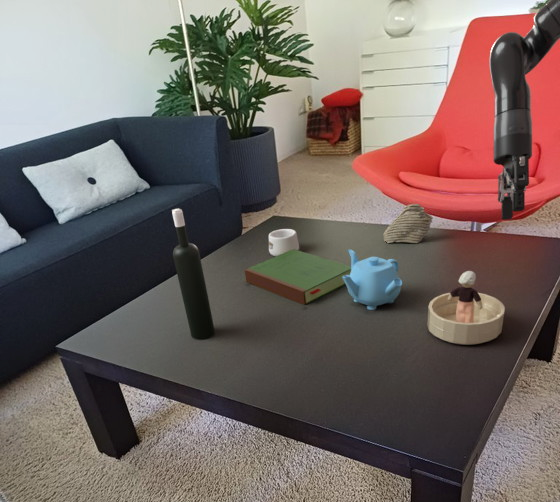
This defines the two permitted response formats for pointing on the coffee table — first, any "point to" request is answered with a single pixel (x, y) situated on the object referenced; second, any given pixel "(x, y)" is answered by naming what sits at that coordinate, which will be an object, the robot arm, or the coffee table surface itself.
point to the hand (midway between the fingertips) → (512, 215)
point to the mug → (282, 241)
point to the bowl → (465, 333)
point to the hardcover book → (298, 276)
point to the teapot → (373, 280)
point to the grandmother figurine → (466, 298)
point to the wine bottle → (192, 282)
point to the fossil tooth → (409, 225)
